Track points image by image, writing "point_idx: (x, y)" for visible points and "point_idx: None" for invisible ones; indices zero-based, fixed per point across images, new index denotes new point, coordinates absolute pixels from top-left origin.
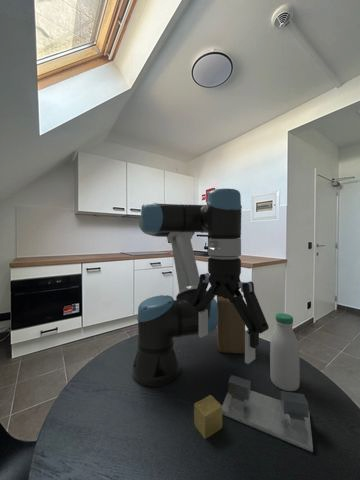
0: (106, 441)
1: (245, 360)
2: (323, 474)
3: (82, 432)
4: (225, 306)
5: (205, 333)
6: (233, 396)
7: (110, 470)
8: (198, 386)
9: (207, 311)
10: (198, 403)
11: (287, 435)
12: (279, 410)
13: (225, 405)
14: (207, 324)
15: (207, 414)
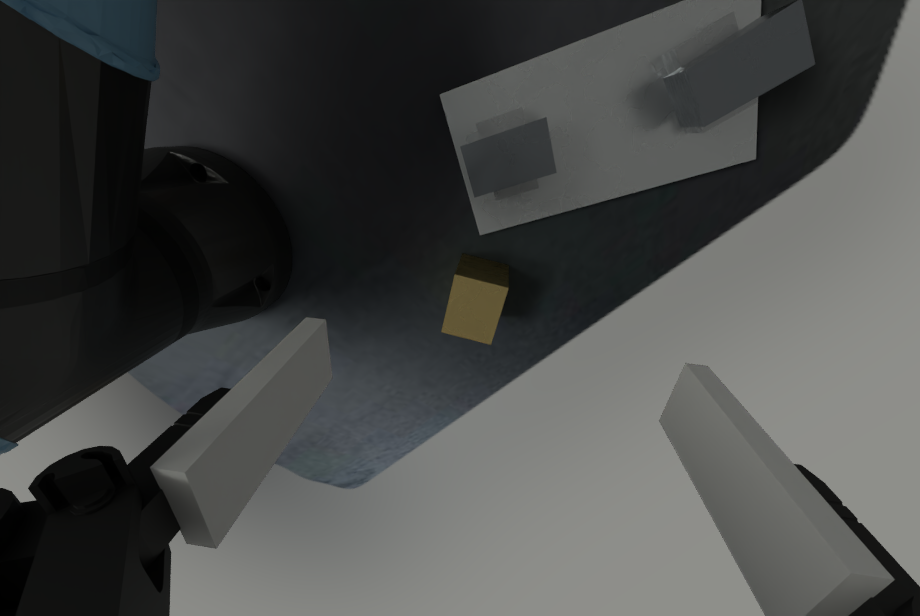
0: (361, 427)
1: (666, 428)
2: (766, 202)
3: (318, 442)
4: None
5: (321, 350)
6: (499, 190)
7: (411, 443)
8: (359, 190)
9: (196, 464)
10: (450, 324)
11: (681, 173)
12: (645, 84)
13: (482, 210)
14: (286, 369)
15: (492, 336)
